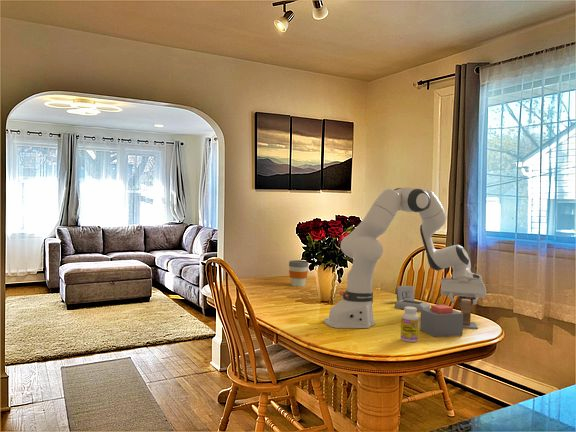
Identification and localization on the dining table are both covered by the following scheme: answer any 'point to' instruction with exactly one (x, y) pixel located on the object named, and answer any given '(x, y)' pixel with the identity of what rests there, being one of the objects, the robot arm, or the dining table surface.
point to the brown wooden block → (466, 311)
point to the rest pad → (471, 325)
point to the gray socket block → (441, 323)
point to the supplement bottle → (409, 325)
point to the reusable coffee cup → (298, 272)
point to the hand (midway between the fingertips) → (464, 303)
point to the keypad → (412, 304)
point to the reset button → (441, 309)
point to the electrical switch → (405, 293)
